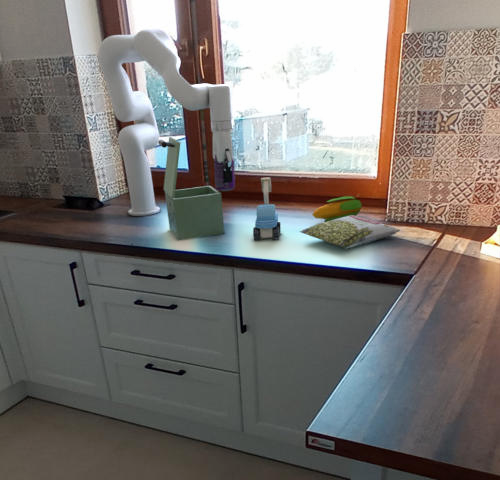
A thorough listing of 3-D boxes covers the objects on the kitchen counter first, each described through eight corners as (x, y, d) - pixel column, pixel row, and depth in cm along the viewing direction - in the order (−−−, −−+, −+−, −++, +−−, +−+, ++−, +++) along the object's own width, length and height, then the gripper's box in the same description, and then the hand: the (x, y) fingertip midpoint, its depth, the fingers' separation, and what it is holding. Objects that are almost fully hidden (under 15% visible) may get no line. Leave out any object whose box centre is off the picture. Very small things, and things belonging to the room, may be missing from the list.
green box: (213, 224, 213) (210, 185, 206) (224, 233, 201) (221, 193, 194) (169, 230, 209) (164, 191, 202) (178, 240, 197) (173, 199, 190)
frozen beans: (298, 222, 185) (356, 207, 196) (298, 240, 188) (355, 224, 199) (344, 237, 170) (403, 220, 182) (343, 257, 173) (401, 239, 185)
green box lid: (171, 137, 194) (156, 134, 192) (180, 142, 182) (164, 139, 180) (165, 190, 202) (151, 188, 200) (174, 198, 190) (159, 196, 188)
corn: (367, 194, 204) (318, 203, 197) (366, 217, 208) (319, 226, 201) (354, 192, 210) (307, 201, 203) (354, 214, 214) (308, 223, 207)
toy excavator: (282, 227, 203) (280, 175, 194) (279, 241, 189) (277, 186, 180) (257, 228, 204) (255, 176, 195) (253, 242, 190) (250, 187, 181)
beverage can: (238, 187, 213) (236, 152, 206) (231, 192, 207) (229, 156, 201) (220, 187, 215) (217, 152, 208) (212, 191, 209) (210, 155, 203)
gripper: (205, 123, 206) (208, 176, 216) (218, 129, 192) (221, 186, 202) (225, 122, 208) (228, 174, 217) (239, 128, 194) (242, 184, 203)
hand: (224, 179), depth 209 cm, fingers closed on beverage can, 6 cm apart
